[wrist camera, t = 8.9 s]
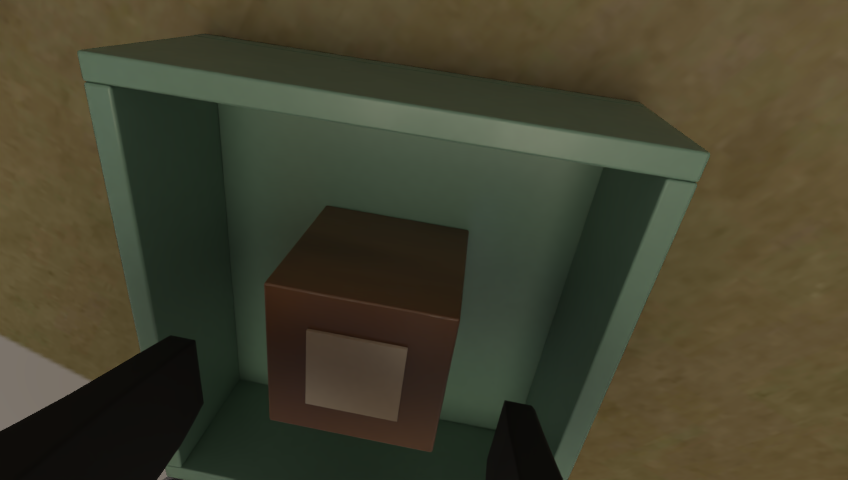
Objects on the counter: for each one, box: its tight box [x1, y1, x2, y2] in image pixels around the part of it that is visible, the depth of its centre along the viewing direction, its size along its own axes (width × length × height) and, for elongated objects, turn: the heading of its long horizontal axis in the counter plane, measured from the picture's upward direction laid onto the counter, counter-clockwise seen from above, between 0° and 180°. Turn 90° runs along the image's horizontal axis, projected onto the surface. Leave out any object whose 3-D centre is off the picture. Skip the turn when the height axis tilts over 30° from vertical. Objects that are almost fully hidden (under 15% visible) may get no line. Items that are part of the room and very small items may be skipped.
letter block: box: [264, 206, 469, 452], centre depth 13 cm, size 4×4×5 cm
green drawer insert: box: [77, 34, 710, 480], centre depth 14 cm, size 13×12×5 cm
